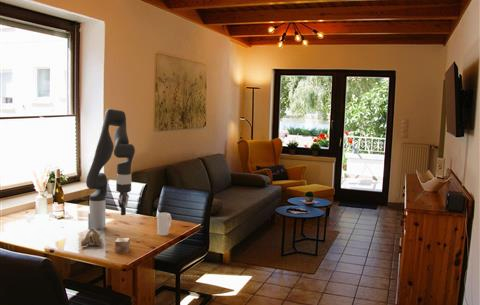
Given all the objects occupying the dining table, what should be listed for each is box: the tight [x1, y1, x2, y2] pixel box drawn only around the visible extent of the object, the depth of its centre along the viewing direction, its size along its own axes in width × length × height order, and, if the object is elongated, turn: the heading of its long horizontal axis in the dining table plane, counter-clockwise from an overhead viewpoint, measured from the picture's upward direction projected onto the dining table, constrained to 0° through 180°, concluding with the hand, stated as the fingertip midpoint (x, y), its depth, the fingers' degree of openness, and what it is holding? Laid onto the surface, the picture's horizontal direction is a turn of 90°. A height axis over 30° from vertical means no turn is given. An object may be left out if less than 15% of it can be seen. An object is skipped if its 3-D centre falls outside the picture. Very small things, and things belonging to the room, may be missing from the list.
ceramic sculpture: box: [80, 228, 103, 247], centre depth 241 cm, size 11×9×15 cm
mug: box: [156, 212, 173, 236], centre depth 265 cm, size 10×7×12 cm, turn 143°
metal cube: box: [114, 237, 131, 254], centre depth 233 cm, size 6×6×6 cm
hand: (123, 214), depth 237 cm, fingers closed
